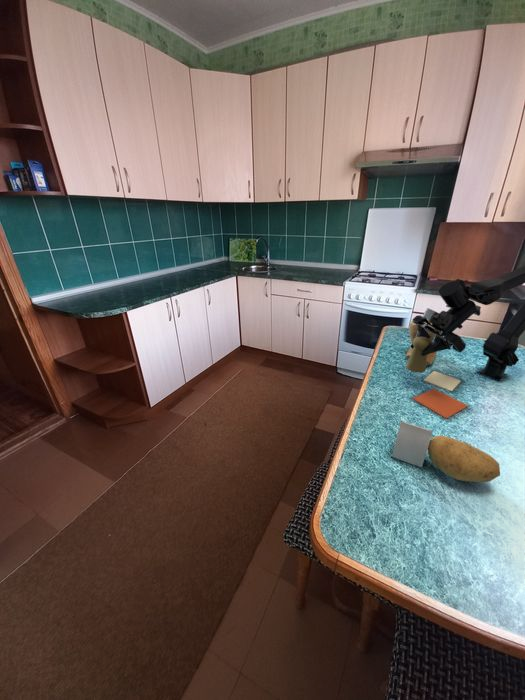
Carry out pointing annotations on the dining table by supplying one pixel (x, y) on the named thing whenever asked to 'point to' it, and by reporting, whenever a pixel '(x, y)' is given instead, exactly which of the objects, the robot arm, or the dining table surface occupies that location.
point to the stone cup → (413, 332)
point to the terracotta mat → (440, 403)
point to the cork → (418, 355)
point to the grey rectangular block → (412, 443)
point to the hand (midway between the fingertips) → (416, 351)
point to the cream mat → (442, 381)
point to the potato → (462, 460)
